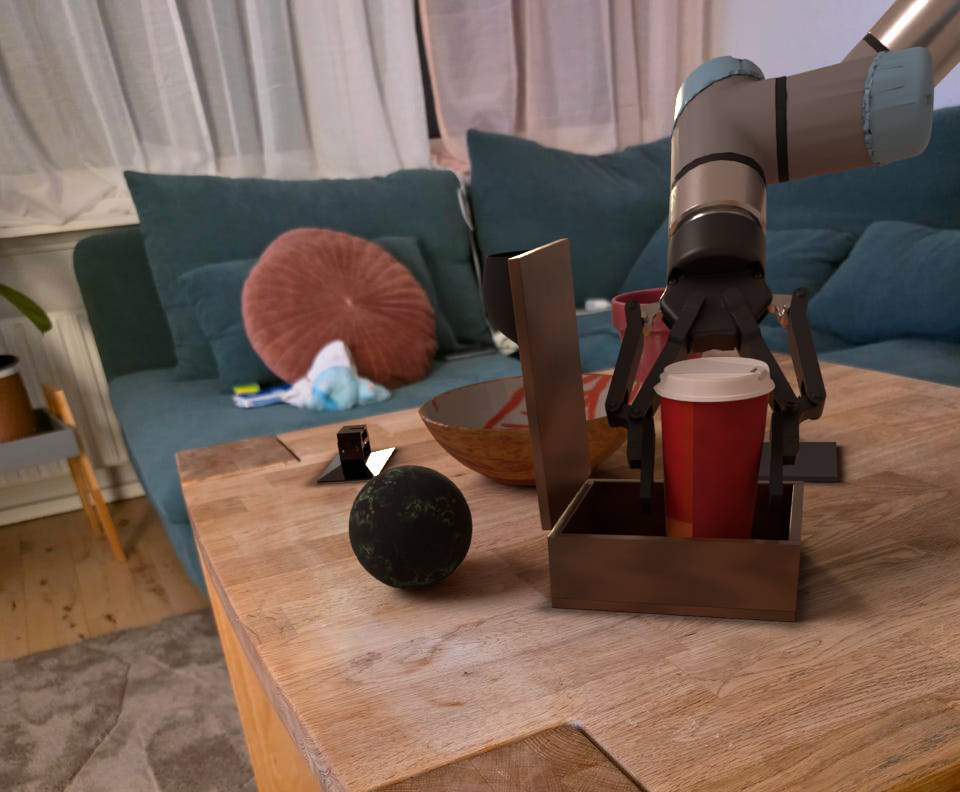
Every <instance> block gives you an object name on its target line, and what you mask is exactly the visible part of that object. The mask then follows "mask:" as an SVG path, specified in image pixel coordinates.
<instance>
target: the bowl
mask: <svg viewBox="0 0 960 792" xmlns="http://www.w3.org/2000/svg"><path fill="white" fill-rule="evenodd" d="M612 376H613V374H604V373H591V372H590V373H589V372H582V381H583V391H584V401H585V411H586V422H587V432H588V442H589V453H590V463H591V470H592V469H594V468H595V467H597V466H598V465H599V464H601V463H603V462H604V461H605V460H607V459H608V458H610V457H612V456H613V455H614V454H615V453H616V452H617V451H618V450H619V449H620V448H621V447H622V445H624V443H625V442H626V441H627V438H628V430H627V429H626V428H624V427H620V426H619V427H617V428H613V427H611V426H610V425H609V424H608V420H607V415H606V410H605V401H606V398H607V394H608V391H609V387H610V383H611V380H612ZM642 385H643V382H641V381H637V380H635V381H634V385H633V388H632V392H631V396H630V399H629V403H628V405H631V404H632V403H633V401H634V399H635V397H636V396H637V394H638V392H639V390H640V388H641V387H642ZM417 411H418V412H417V413H418V414H419V417H420V419H421V420H422V422H423V423H424V425H425V426H426V428H427V430H428V431H429V433H430V435H432V437H433V439H434V440H435V441H436V442H437V444H439V446H441V448H442V449H443V450H444V451H445V452H446V453H447V454H449V455H450V456H451V457H452V458H454V459H455V460H456V461H457V462H459V463H460V464H461V465H462V466H464V467H465V468H468V469H470V470H471V471H474V472H475V473H478V474H480V475H482V476H483V477H486V478H488V479H490V480H492V481H495V482H498V483H500V484H503V485H507V486H515V487H536V480H535V472H534V464H533V456H532V448H531V441H530V433H529V425H528V417H527V409H526V401H525V393H524V385H523V377H522V375H520V376H519V375H518V376H511V377H503V378H497V379H492V380H485V381H479V382H476V383H472V384H468V385H467V384H466V385H464V386H460V387H457V388H453V389H450V390H447V391H445V392H442V393H440V394H437V395H435V396H433V397H431V398H430V399H428V400H426V401H425V402H424V403H423V404H421V405H419V409H418V410H417Z"/></svg>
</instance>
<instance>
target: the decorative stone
mask: <svg viewBox="0 0 960 792" xmlns="http://www.w3.org/2000/svg"><path fill="white" fill-rule="evenodd" d="M472 516H473V515H472V512H471V508H470V506H469V503H468V501H467V499H466V497H465V496H464V494H463V492H462V490H461V489H460V488H459V487H458V485H456V483H455V482H454V481H452V480H451V479H450V478H449V477H447V476H446V475H445V474H443V473H442V472H440V471H438V470H437V469H433V468H431V467H427V466H423V465H415V464H406V465H405V464H404V465H398V466H393V467H391V468H387V469H385V470H382V471H381V473H379V474H378V475H376V476H374V477H373V478H372V479H371V480H370V481H366V483H365V484H364V485H363V487H361V489H360V490H359V492H358V493H357V495H356V497H355V498H354V501H353V502H352V505H351V508H350V513H349V518H348V538H349V543H350V546H351V549H352V551H353V554H354V555H355V557H356V560H357V561H358V562H359V564H360V566H361V567H362V568H363V569H364V570H365V571H366V572H367V573H368V574H369V575H370V576H372V577H373V578H374V579H376V580H377V581H379V582H380V583H382V584H384V585H385V586H388V587H390V588H393V589H398V590H406V591H415V590H416V591H421V590H425V589H429V588H432V587H435V586H437V585H440V584H441V583H442V582H445V580H447V579H448V578H450V577H451V576H452V575H454V573H455V572H456V571H457V570H458V569H459V568H460V567H461V565H462V563H463V562H464V560H465V559H466V558H467V555H468V553H469V550H470V547H471V545H472V540H473V531H474V530H473V529H474V527H473V517H472Z"/></svg>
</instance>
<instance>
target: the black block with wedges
mask: <svg viewBox="0 0 960 792" xmlns="http://www.w3.org/2000/svg"><path fill="white" fill-rule="evenodd" d="M369 433H370V432H369V430H368V425H367V424H351V425H343V426H342V427H341V428H340V429H339V430H338V431H337V432H336V440H337V442H336V444H337V451H338V454H337V455H336V456H335V457H334V459H333V460H332V461H331V463H330V464H329V465H328V466H327V467H326V469H325V470H324V471H323V472H322V474H320V476H319V477H318V479H317V480H316V481H315V483H316V484H317V485H323V484H326V485H327V484H339V483H340V484H341V483H355V482H357V483H358V482H368V481H370V480H371V479H372V478H373V477H374V476H376V475H378V474H379V473H381V472H383V471H384V468H385V467H386V465H387V464H388V462H389V461H390V459H391V457H392V455H393V454H394V453H395V451H396V449H395V447H381V448H372V447H371V441H370V434H369Z"/></svg>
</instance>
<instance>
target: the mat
mask: <svg viewBox="0 0 960 792" xmlns="http://www.w3.org/2000/svg"><path fill="white" fill-rule="evenodd" d="M838 469H839V468H838V451H837V441H799V454H798V459H797V461H796V463H795V465H783V481H804V483H838V479H839V473H838V472H839V471H838ZM758 481H769V441H764V443H763V449H762V456H761V463H760V470H759V477H758Z"/></svg>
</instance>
